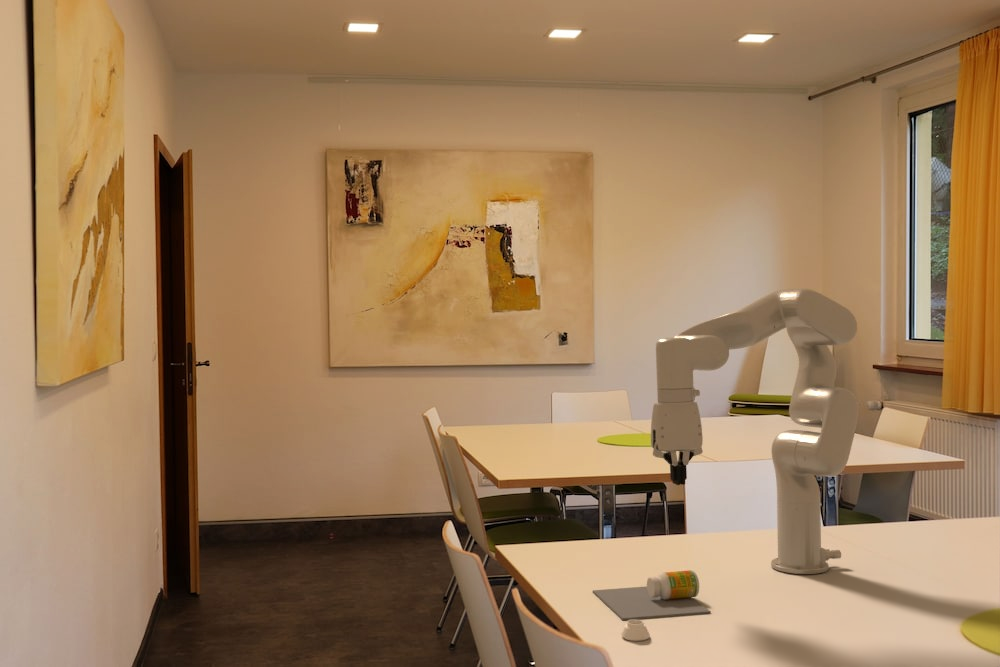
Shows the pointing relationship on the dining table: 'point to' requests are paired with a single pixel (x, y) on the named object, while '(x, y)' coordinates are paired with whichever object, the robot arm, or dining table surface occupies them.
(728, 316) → the robot arm
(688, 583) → the supplement bottle
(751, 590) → the dining table surface
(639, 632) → the lidless jar
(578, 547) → the dining table surface
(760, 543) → the dining table surface
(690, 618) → the dining table surface
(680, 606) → the felt mat
